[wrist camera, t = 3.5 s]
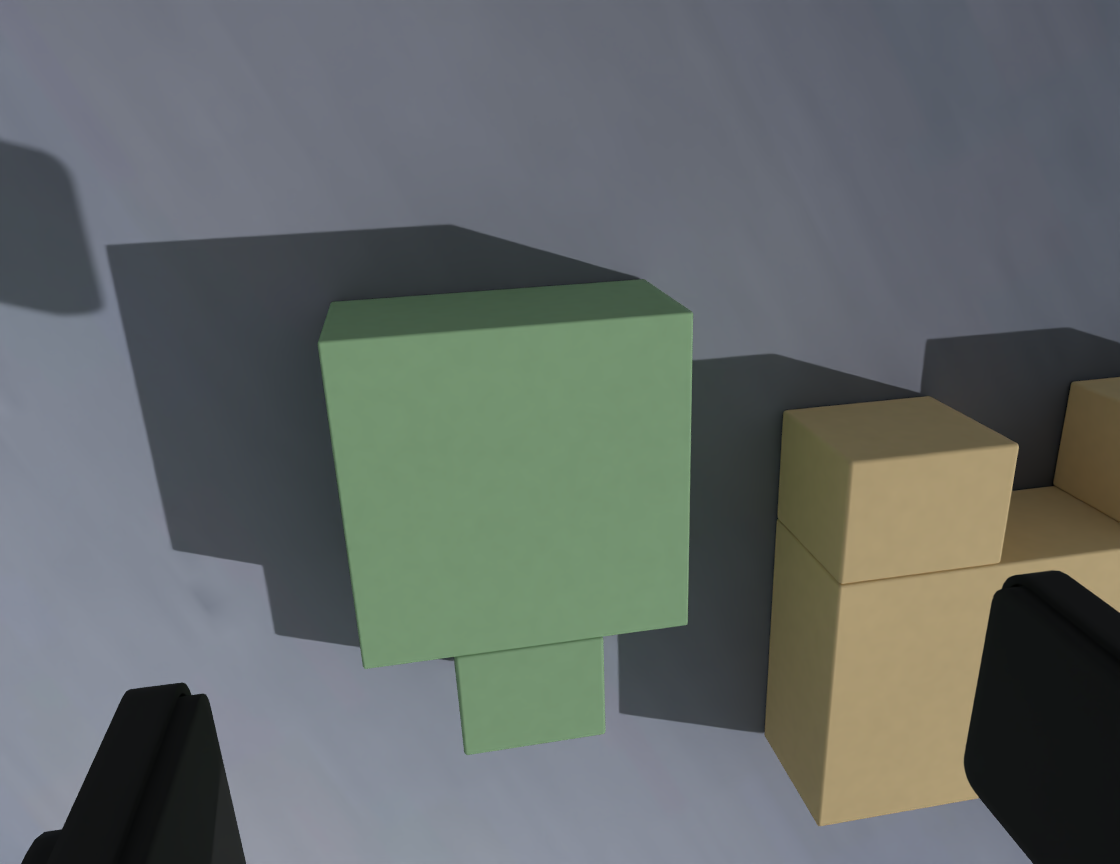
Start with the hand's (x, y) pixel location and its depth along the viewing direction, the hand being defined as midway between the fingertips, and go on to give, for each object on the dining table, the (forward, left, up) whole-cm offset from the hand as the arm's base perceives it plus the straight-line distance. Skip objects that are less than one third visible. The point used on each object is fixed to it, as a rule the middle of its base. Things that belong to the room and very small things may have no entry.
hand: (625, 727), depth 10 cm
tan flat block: (+13, -5, -11) cm, 18 cm away
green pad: (0, -2, -11) cm, 11 cm away
